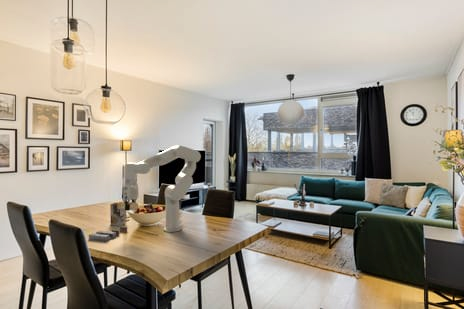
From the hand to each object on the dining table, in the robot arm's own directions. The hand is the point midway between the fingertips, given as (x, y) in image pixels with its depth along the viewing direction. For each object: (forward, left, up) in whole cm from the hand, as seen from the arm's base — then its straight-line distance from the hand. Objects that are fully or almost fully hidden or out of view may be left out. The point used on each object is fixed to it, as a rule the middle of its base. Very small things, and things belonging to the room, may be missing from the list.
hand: (130, 209), depth 168 cm
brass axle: (0, -2, -1) cm, 2 cm away
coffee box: (-22, -27, -18) cm, 39 cm away
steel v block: (+7, -15, -18) cm, 25 cm away
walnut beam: (-4, -11, -18) cm, 21 cm away
